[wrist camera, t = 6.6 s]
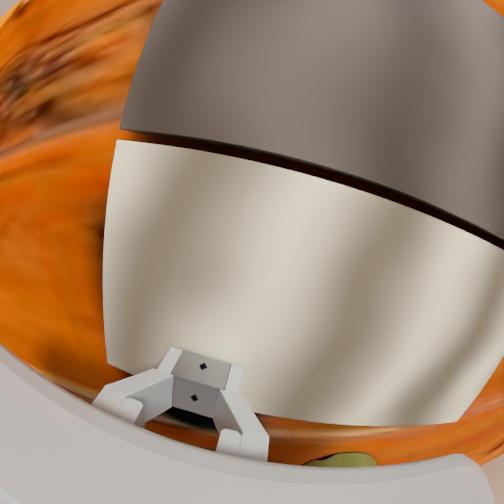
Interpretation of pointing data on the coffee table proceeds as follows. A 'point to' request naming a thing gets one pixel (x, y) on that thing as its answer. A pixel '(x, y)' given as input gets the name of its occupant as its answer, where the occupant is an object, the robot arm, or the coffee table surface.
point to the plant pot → (345, 461)
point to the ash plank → (298, 288)
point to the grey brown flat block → (339, 91)
